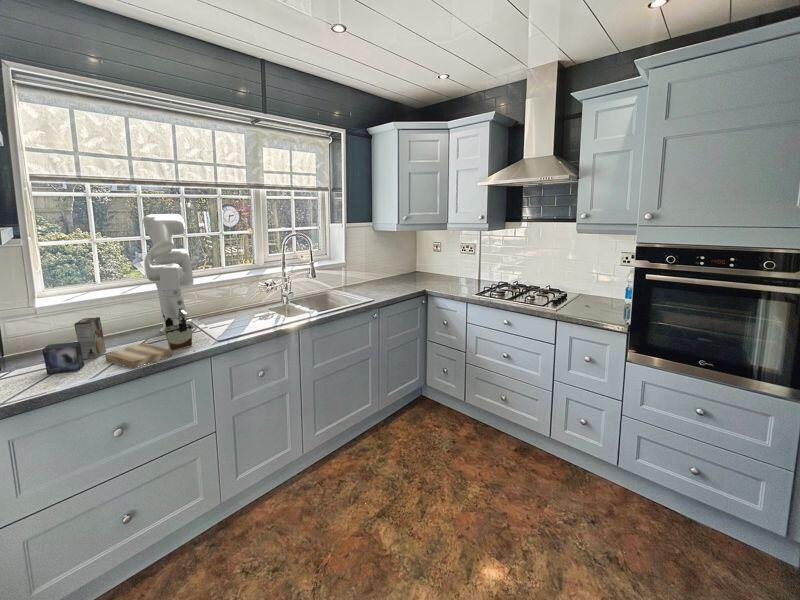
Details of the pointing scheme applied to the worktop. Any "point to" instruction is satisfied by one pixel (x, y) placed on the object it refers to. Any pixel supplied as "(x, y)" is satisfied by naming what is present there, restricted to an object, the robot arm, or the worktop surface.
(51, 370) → the small box
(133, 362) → the oak base
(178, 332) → the food container
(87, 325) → the coffee box
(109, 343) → the worktop surface
